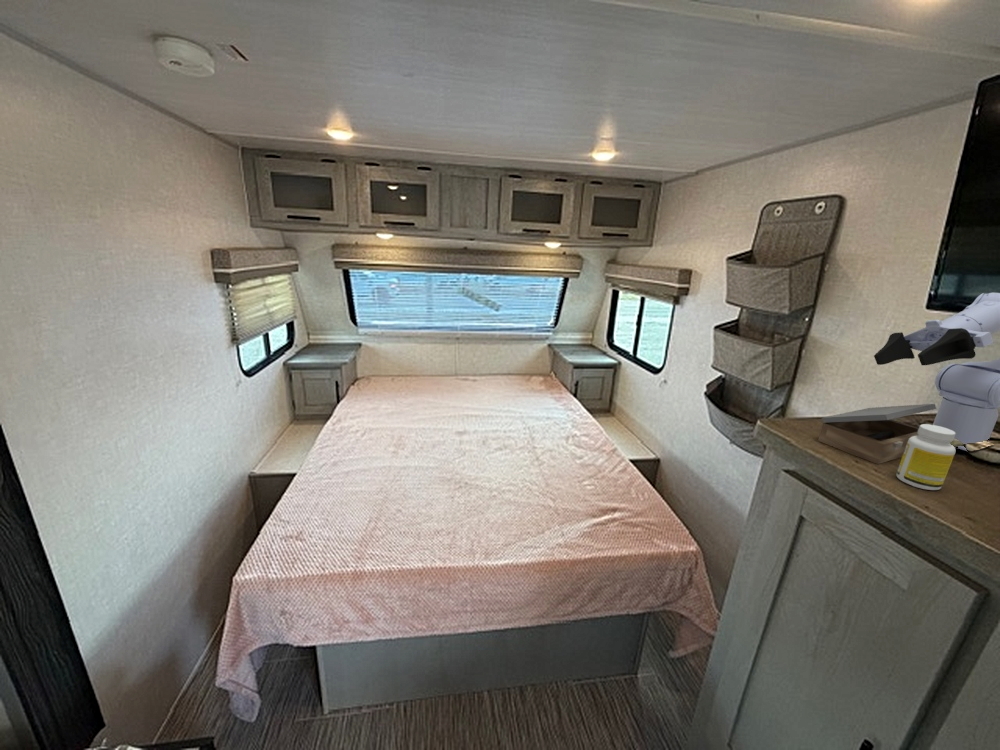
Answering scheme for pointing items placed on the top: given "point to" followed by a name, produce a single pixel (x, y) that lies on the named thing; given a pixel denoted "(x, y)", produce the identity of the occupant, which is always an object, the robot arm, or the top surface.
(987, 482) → the top surface
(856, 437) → the box
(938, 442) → the supplement bottle
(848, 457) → the top surface
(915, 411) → the lid
